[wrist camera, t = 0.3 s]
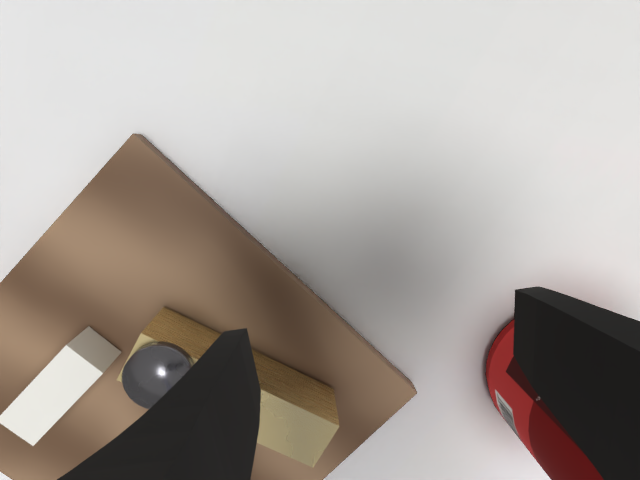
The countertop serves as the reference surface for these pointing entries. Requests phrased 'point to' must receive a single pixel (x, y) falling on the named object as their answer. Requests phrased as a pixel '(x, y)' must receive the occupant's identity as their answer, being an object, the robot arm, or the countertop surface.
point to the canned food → (532, 415)
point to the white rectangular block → (59, 385)
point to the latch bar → (274, 378)
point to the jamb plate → (179, 296)
